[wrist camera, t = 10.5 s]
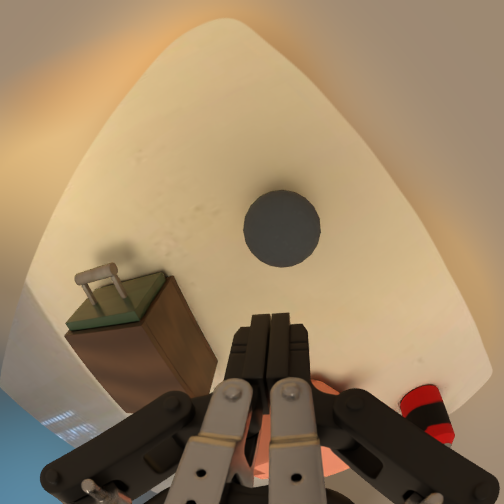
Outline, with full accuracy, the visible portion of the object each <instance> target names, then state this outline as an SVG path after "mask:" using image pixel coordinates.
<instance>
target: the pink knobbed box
mask: <svg viewBox="0 0 504 504" xmlns="http://www.w3.org/2000/svg"><path fill="white" fill-rule="evenodd" d="M311 381H312V384H313V385H314V386H315V387H316V388H317V389H318V390H320V391H322V392H324V393H328V394H334V395H339V394H340V393H339V392H337V391H336V390H334V389H333V388H331V387H330V386H328V385H326V384H325V383H323V382H321V381H316V380H313V379H311ZM261 428H262V432H261V438H260V443H259V447H258V452H257V457H256V462H255V467H254V476H255V477H257V478H260V479H267V478H269V442H270V440H271V416H270V415H263V418H262V426H261ZM321 454H322V463H323V472H324V477H326V476H329V475H332V474H335V473H338V472H341V471H343V470H346V469H348V468H350V467H349V466H348V465H347V464H345V463H344V462H343V461H342V460H341V459H340V458H339V457H338V456H336V455H335V454H334V453H333V452H332V451H331V449H330V448H328V447H323V446H321Z"/></svg>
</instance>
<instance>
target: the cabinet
mask: <svg viewBox="0 0 504 504" xmlns="http://www.w3.org/2000/svg"><path fill="white" fill-rule="evenodd" d="M165 279H166V281H165V283H164V284H163V286H162V287H161V289H160V290H159V292H158V294H157V295H156V297H155V298H154V300H153V301H152V303H151V304H150V306H149V307H148V309H147V311H146V312H145V314H144V315H143V317H142V318H141V320H140V321H139V322H136V323H129V324H123V325H116V326H110V327H103V328H95V329H88V330H87V329H81V330H73V331H70V330H69V331H68V332H67V333H66V334H65V336H64V337H65V338H66V340H67V341H68V342H69V344H70V345H71V347H72V348H73V349H74V351H75V352H76V353H77V355H78V356H79V358H80V359H81V360H82V361H83V363H84V364H85V365H86V367H87V368H88V369H89V370H90V372H91V373H92V374H93V375H94V377H95V378H96V379H97V380H98V382H99V383H100V384H101V385H102V386H103V388H104V389H105V390H106V391H107V392H108V393H109V395H110V396H111V397H112V398H113V399H114V400H115V401H116V402H117V404H118V405H119V406H120V407H121V408H122V409H123V410H124V411H125V412H126V413H135V412H137V411H138V410H140V409H141V408H143V407H144V406H146V405H147V404H149V403H150V402H152V401H153V400H155V399H156V398H158V397H159V396H161V395H162V394H164V393H166V392H169V391H176V390H177V391H182V392H185V393H186V394H188V395H189V397H190V398H194V397H199V396H204V395H208V394H209V392H210V389H211V385H212V381H213V377H214V374H215V370H216V366H217V362H218V361H217V359H216V357H215V355H214V354H213V352H212V350H211V348H210V346H209V345H208V343H207V341H206V339H205V337H204V335H203V333H202V332H201V330H200V328H199V326H198V324H197V322H196V320H195V318H194V316H193V315H192V313H191V311H190V309H189V307H188V305H187V303H186V301H185V299H184V297H183V295H182V293H181V291H180V289H179V287H178V285H177V283H176V281H175V279H174V277H173V276H170V277H166V278H165Z"/></svg>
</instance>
